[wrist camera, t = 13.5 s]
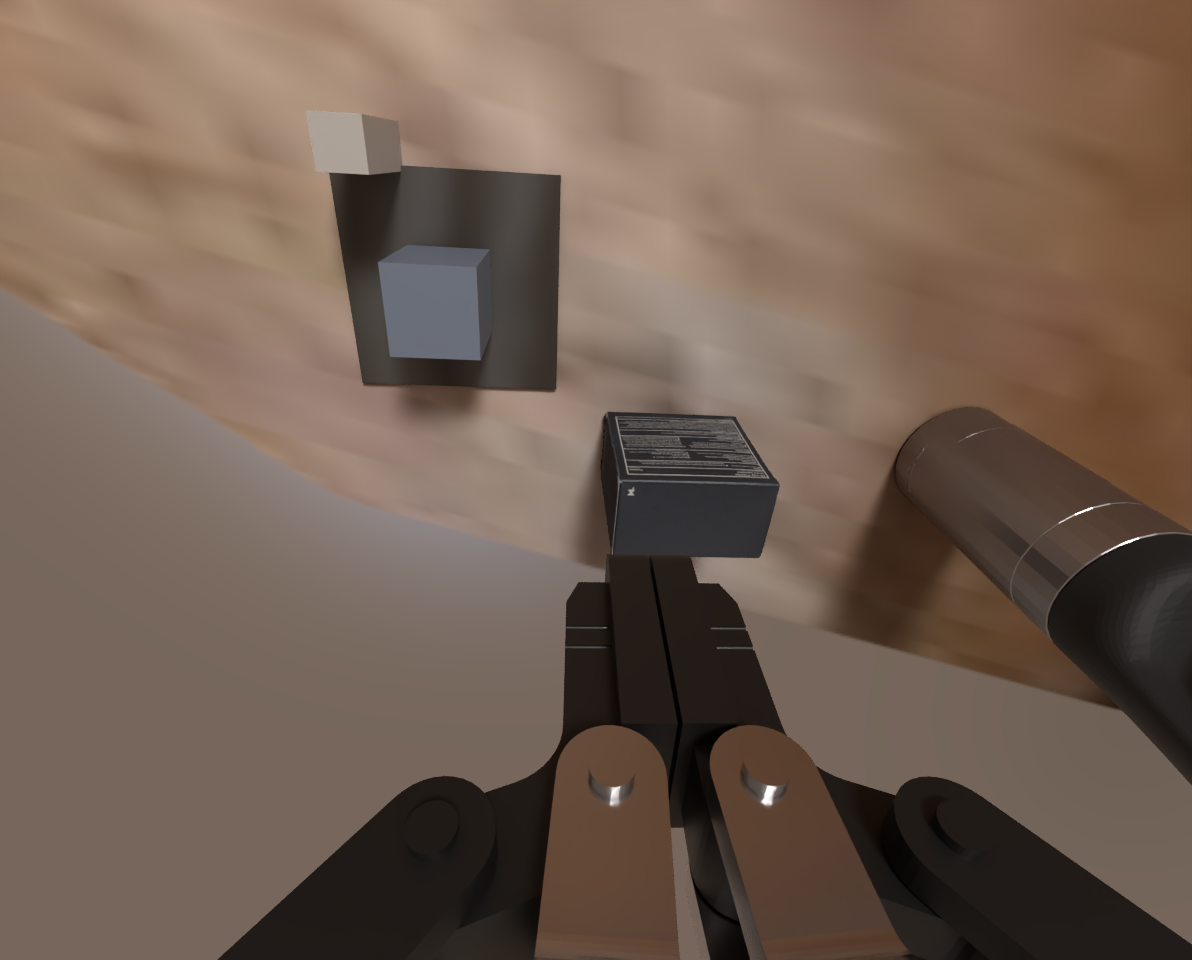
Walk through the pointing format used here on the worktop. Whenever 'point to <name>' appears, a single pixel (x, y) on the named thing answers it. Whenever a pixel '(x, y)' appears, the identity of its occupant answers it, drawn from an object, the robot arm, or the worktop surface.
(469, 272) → the blue-grey block
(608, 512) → the small box
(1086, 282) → the worktop surface
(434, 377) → the dark grey square tray
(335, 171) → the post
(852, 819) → the robot arm
